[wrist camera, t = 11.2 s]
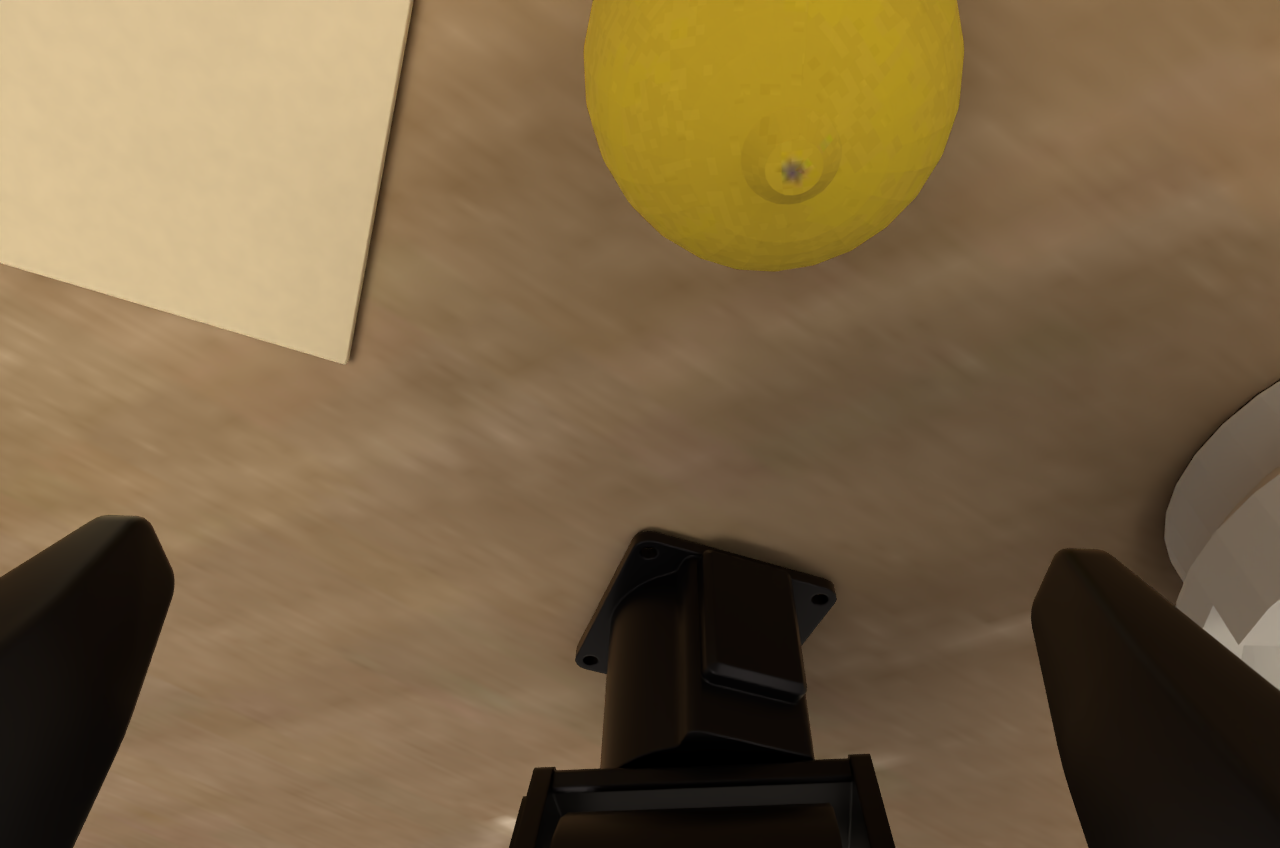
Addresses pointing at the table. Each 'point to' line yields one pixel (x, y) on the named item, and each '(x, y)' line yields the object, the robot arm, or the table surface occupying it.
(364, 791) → the table surface
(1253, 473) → the flag stand
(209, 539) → the table surface
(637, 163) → the lemon
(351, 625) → the table surface
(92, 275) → the wooden plank
